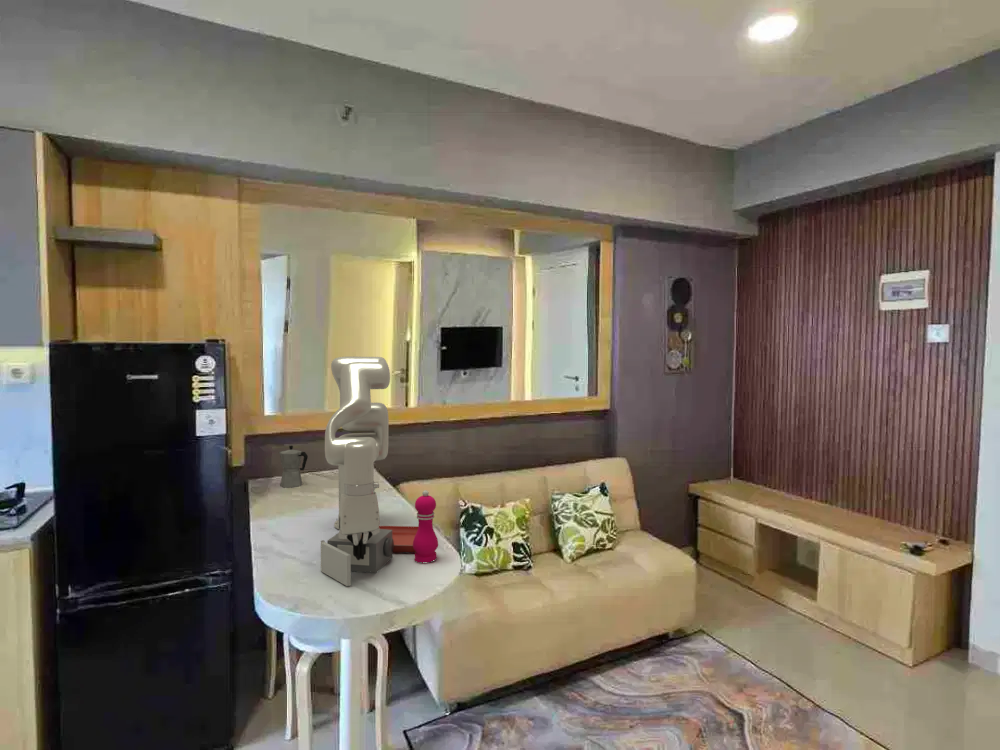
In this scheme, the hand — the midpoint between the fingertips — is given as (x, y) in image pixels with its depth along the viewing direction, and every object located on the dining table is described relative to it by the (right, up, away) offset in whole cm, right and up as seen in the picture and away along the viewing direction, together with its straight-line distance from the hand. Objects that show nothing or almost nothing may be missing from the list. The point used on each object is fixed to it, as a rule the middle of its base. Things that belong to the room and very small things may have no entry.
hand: (359, 557), depth 146 cm
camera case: (-2, -5, +10) cm, 11 cm away
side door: (-6, -5, -1) cm, 8 cm away
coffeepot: (-55, -2, +101) cm, 115 cm away
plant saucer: (+6, -5, +26) cm, 27 cm away
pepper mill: (+16, -5, +13) cm, 21 cm away
